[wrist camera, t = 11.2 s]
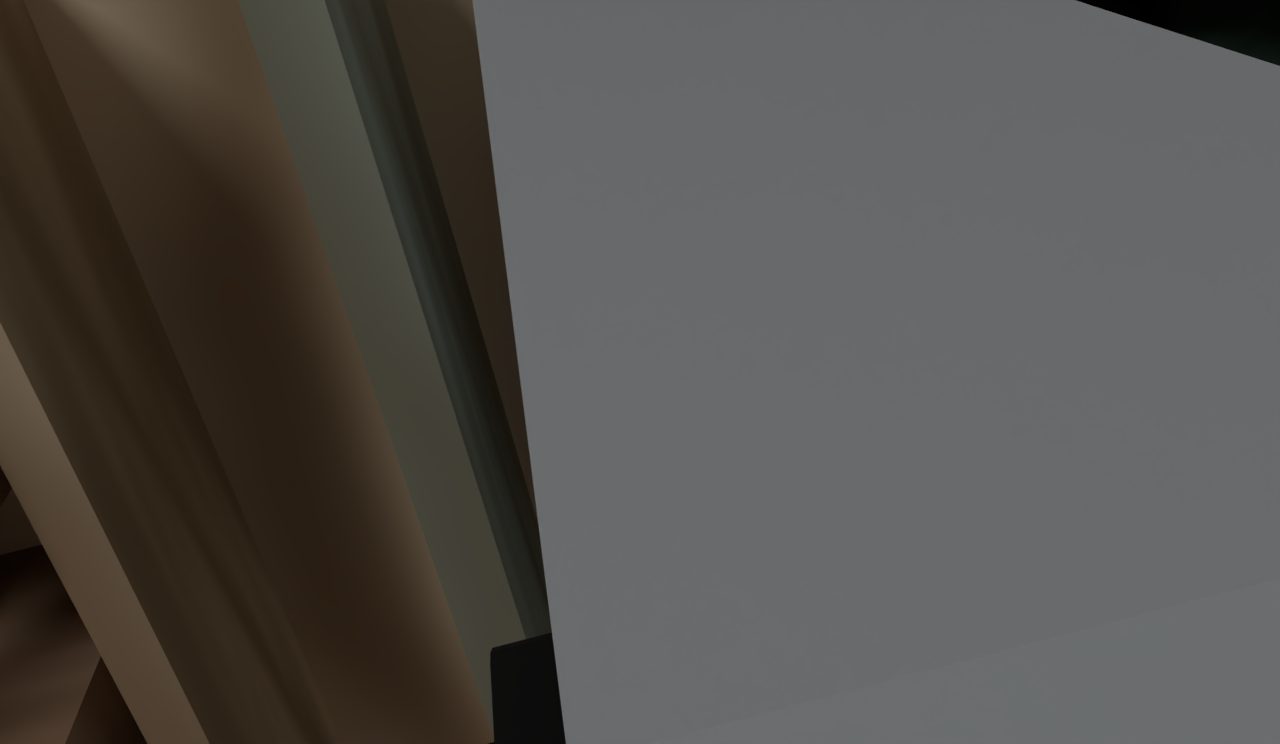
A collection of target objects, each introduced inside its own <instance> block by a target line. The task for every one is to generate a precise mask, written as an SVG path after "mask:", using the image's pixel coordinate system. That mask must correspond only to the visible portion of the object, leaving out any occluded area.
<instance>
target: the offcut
mask: <svg viewBox="0 0 1280 744" xmlns="http://www.w3.org/2000/svg"><path fill="white" fill-rule="evenodd" d="M0 744H147V742H146V740H145V738H144V736H143V734H142V732H141V731H140V729H139V727H138V725H137V723H136V721H135V719H134V717H133V715H132V714H131V712H130V710H129V708H128V706H127V704H126V702H125V700H124V698H123V696H122V695H121V693H120V691H119V689H118V687H117V685H116V683H115V681H114V679H113V678H112V676H111V674H110V672H109V670H108V668H107V666H106V664H105V662H104V661H103V659H102V657H101V655H100V653H99V651H98V649H97V647H96V645H95V644H94V642H93V640H92V638H91V636H90V634H89V632H88V630H87V628H86V627H85V625H84V623H83V621H82V619H81V617H80V615H79V613H78V611H77V610H76V608H75V606H74V604H73V602H72V600H71V598H70V596H69V594H68V593H67V591H66V589H65V587H64V585H63V583H62V581H61V579H60V577H59V576H58V574H57V572H56V570H55V568H54V566H53V564H52V562H51V560H50V559H49V557H48V555H47V553H46V551H45V549H44V547H43V545H38V546H34V547H30V548H26V549H22V550H18V551H14V552H10V553H6V554H2V555H0Z"/></svg>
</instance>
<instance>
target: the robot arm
mask: <svg viewBox="0 0 1280 744" xmlns="http://www.w3.org/2000/svg"><path fill="white" fill-rule="evenodd" d="M490 671H491V690H492V710H493V729H494V744H566V740H565V732H564V724H563V716H562V708H561V700H560V692H559V684H558V676H557V668H556V660H555V653H554V645H553V637H552V632H551V633H547V634H544V635H540V636H536V637H532V638H528V639H524V640H521V641H517V642H513V643H509V644H505V645H501V646H497V647H494V648H492V650H491V652H490Z"/></svg>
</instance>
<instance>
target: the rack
mask: <svg viewBox="0 0 1280 744" xmlns="http://www.w3.org/2000/svg"><path fill="white" fill-rule="evenodd" d="M0 466H1V468H2V470H3V472H4V474H5V475H6V477H7V479H8V481H9V483H10V485H11V487H12V489H11V491H10V492H9V494H8V496H7V497H6V499H5V500H4V502H3V503H2V505H1V507H0V555H2V554H6V553H10V552H14V551H18V550H22V549H26V548H30V547H34V546H38V545H43V547H44V549H45V551H46V553H47V555H48V557H49V559H50V560H51V562H52V564H53V566H54V568H55V570H56V572H57V574H58V576H59V577H60V579H61V581H62V583H63V585H64V587H65V589H66V591H67V593H68V594H69V596H70V598H71V600H72V602H73V604H74V606H75V608H76V610H77V611H78V613H79V615H80V617H81V619H82V621H83V623H84V625H85V627H86V628H87V630H88V632H89V634H90V636H91V638H92V640H93V642H94V644H95V645H96V647H97V649H98V651H99V653H100V655H101V657H102V659H103V661H104V662H105V664H106V666H107V668H108V670H109V672H110V674H111V676H112V678H113V679H114V681H115V683H116V685H117V687H118V689H119V691H120V693H121V695H122V696H123V698H124V700H125V702H126V704H127V706H128V708H129V710H130V712H131V714H132V715H133V717H134V719H135V721H136V723H137V725H138V727H139V729H140V731H141V732H142V734H143V736H144V738H145V740H146V742H147V744H488V743H492V742H494V729H493V710H492V690H491V671H490V652H491V650H492V648H494V647H497V646H501V645H505V644H509V643H513V642H517V641H521V640H524V639H528V638H532V637H536V636H540V635H544V634H547V633H551V632H552V629H551V621H550V613H549V605H548V597H547V589H546V581H545V573H544V565H543V557H542V549H541V541H540V533H539V525H538V517H537V509H536V501H535V493H534V485H533V477H532V470H531V462H530V454H529V446H528V438H527V430H526V422H525V414H524V406H523V398H522V390H521V382H520V374H519V366H518V358H517V350H516V342H515V334H514V326H513V318H512V310H511V302H510V295H509V287H508V279H507V271H506V263H505V255H504V247H503V239H502V231H501V223H500V215H499V207H498V199H497V191H496V183H495V175H494V167H493V159H492V151H491V143H490V135H489V127H488V119H487V111H486V104H485V96H484V88H483V80H482V72H481V64H480V56H479V48H478V40H477V32H476V24H475V16H474V8H473V0H0Z"/></svg>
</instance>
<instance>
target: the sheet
mask: <svg viewBox="0 0 1280 744" xmlns="http://www.w3.org/2000/svg"><path fill="white" fill-rule="evenodd" d="M473 8H474V16H475V24H476V32H477V40H478V48H479V56H480V64H481V72H482V80H483V88H484V96H485V104H486V111H487V119H488V127H489V135H490V143H491V151H492V159H493V167H494V175H495V183H496V191H497V199H498V207H499V215H500V223H501V231H502V239H503V247H504V255H505V263H506V271H507V279H508V287H509V295H510V302H511V310H512V318H513V326H514V334H515V342H516V350H517V358H518V366H519V374H520V382H521V390H522V398H523V406H524V414H525V422H526V430H527V438H528V446H529V454H530V462H531V470H532V477H533V485H534V493H535V501H536V509H537V517H538V525H539V533H540V541H541V549H542V557H543V565H544V573H545V581H546V589H547V597H548V605H549V613H550V621H551V629H552V637H553V645H554V653H555V660H556V668H557V676H558V684H559V692H560V700H561V708H562V716H563V724H564V732H565V740H566V744H1280V66H1278V65H1275V64H1271V63H1268V62H1265V61H1262V60H1259V59H1256V58H1253V57H1250V56H1247V55H1243V54H1240V53H1237V52H1234V51H1231V50H1228V49H1225V48H1222V47H1219V46H1216V45H1212V44H1209V43H1206V42H1203V41H1200V40H1197V39H1194V38H1191V37H1188V36H1184V35H1181V34H1178V33H1175V32H1172V31H1169V30H1166V29H1163V28H1160V27H1157V26H1153V25H1150V24H1147V23H1144V22H1141V21H1138V20H1135V19H1132V18H1129V17H1125V16H1122V15H1119V14H1116V13H1113V12H1110V11H1107V10H1104V9H1101V8H1098V7H1094V6H1091V5H1088V4H1085V3H1082V2H1079V1H1076V0H473Z"/></svg>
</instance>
